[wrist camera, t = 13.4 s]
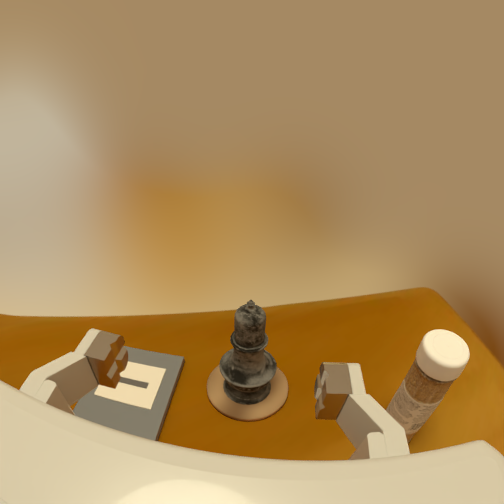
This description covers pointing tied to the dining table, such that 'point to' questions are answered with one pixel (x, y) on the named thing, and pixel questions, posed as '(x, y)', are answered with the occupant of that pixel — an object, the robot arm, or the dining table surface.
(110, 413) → the label board
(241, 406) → the coaster
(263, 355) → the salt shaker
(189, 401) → the dining table surface
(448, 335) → the sprinkles bottle
